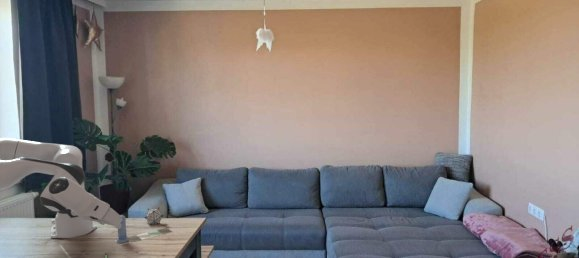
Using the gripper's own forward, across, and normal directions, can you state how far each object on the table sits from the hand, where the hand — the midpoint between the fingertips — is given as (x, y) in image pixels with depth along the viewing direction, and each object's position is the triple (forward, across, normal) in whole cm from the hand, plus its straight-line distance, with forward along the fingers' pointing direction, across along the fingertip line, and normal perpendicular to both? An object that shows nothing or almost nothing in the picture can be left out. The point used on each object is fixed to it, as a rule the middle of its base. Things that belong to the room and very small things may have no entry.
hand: (111, 224), depth 166 cm
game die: (+27, -7, +13) cm, 31 cm away
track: (+17, +2, +3) cm, 17 cm away
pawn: (+10, -1, -2) cm, 10 cm away
